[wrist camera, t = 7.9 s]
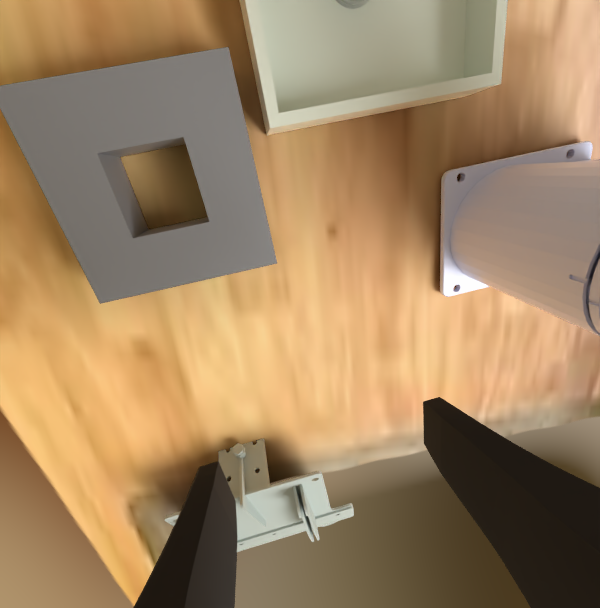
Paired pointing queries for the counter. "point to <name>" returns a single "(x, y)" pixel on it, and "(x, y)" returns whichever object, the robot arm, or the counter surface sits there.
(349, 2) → the steel pin
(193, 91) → the pin block
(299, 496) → the metal bracket
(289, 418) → the counter surface
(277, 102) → the tray
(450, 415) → the robot arm
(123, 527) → the counter surface
